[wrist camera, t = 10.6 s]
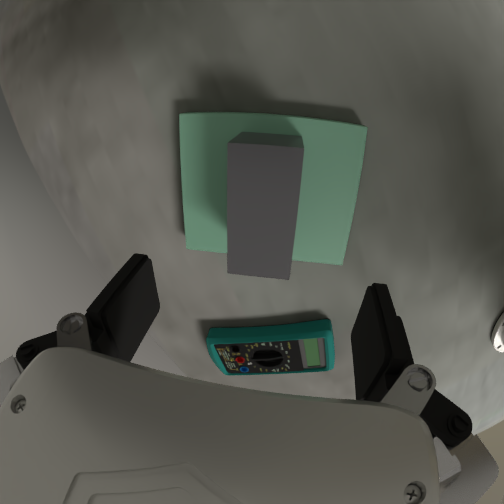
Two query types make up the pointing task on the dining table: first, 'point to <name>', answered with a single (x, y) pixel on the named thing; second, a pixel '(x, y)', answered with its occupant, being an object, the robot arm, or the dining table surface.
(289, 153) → the block
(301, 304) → the dining table surface
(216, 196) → the board
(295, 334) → the digital multimeter
